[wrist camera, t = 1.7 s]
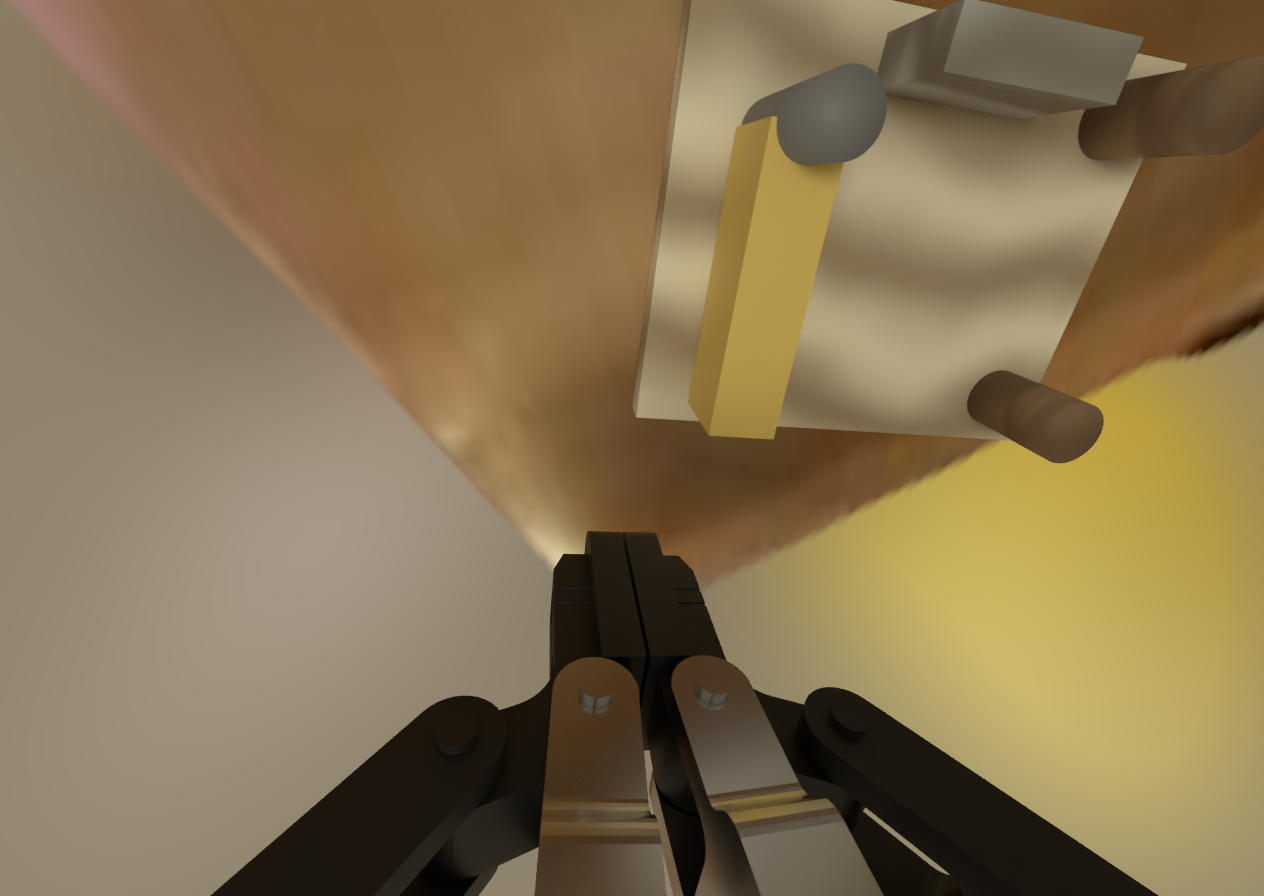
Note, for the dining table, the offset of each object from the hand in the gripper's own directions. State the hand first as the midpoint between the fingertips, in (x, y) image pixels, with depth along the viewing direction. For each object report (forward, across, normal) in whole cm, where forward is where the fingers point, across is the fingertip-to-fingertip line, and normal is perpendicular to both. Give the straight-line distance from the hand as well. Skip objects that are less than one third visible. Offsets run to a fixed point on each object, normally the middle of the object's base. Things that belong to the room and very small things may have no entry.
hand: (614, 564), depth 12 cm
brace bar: (+15, -7, -5) cm, 17 cm away
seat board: (+17, -14, -6) cm, 23 cm away
